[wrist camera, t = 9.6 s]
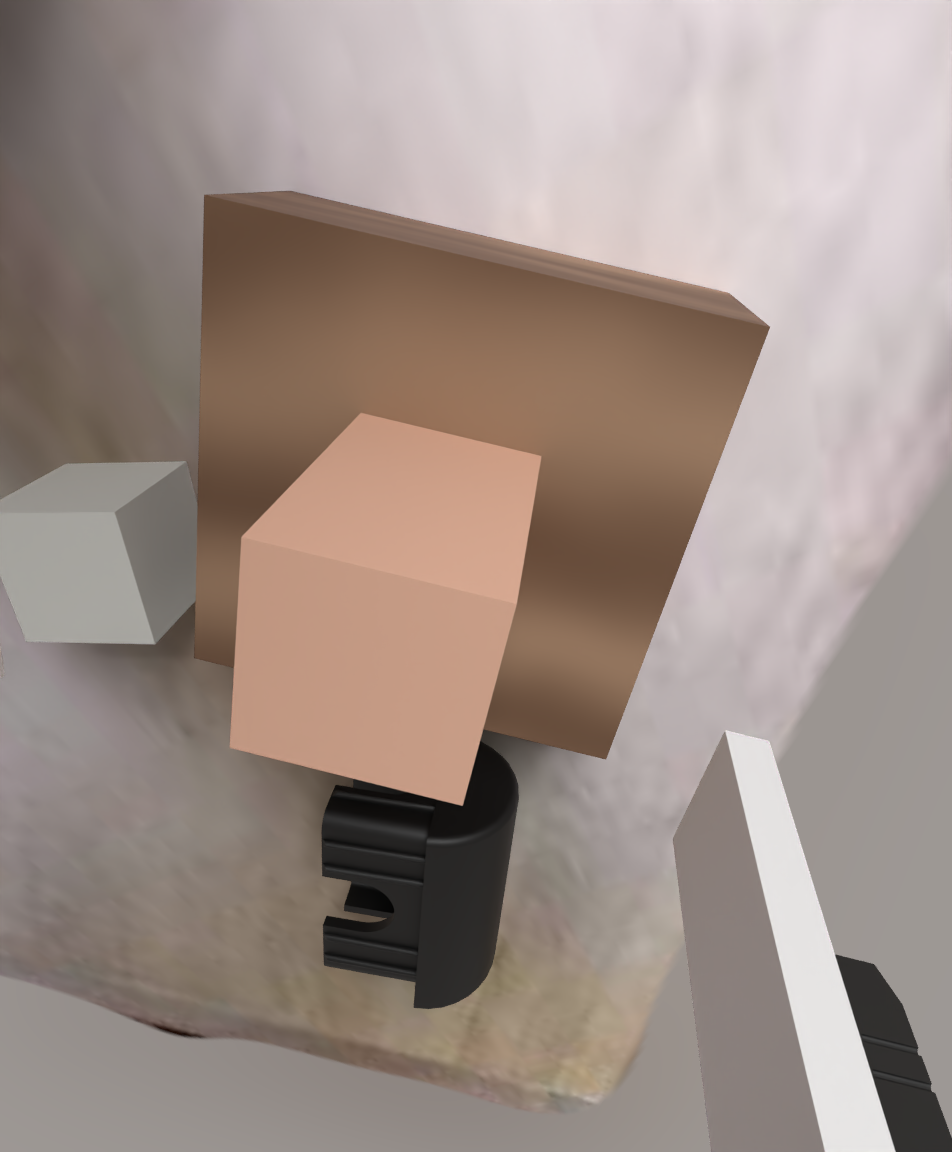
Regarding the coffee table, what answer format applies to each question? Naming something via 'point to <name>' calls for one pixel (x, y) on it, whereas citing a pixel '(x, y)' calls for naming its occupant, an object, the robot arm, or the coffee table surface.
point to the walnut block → (472, 418)
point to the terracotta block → (382, 606)
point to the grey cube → (101, 552)
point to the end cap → (421, 880)
